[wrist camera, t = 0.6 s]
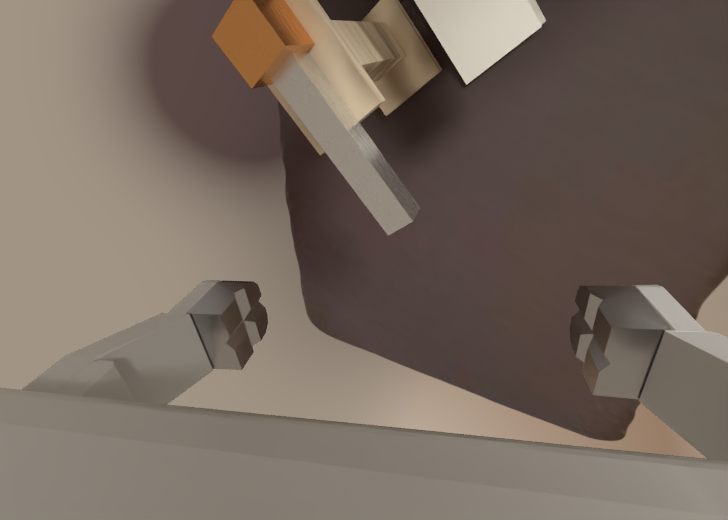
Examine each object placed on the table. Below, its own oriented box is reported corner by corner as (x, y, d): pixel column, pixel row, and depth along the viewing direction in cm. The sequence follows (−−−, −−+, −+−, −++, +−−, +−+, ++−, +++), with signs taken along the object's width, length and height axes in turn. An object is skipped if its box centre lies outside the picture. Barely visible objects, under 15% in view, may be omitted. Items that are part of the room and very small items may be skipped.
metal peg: (278, -9, 30) (242, -14, 26) (428, 203, 34) (416, 225, 31) (248, 35, 32) (211, 36, 29) (390, 226, 37) (375, 248, 33)
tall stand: (393, -9, 48) (297, -36, 28) (442, 69, 51) (387, 96, 31) (343, 46, 54) (233, 56, 34) (389, 113, 57) (313, 160, 36)
